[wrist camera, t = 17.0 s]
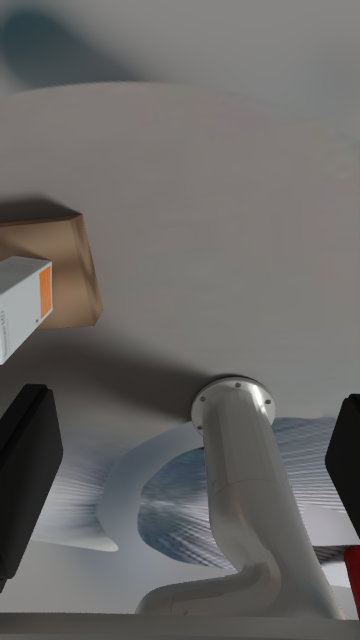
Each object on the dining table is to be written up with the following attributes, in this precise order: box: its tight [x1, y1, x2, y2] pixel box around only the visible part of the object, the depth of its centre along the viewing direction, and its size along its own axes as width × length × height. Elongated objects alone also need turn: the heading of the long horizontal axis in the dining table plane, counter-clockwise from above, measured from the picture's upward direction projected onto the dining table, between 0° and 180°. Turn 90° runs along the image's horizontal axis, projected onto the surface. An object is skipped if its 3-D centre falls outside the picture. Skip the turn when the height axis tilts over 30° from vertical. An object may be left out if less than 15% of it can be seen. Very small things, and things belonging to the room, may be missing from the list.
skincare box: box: [0, 256, 53, 365], centre depth 30 cm, size 6×4×12 cm
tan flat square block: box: [0, 214, 103, 330], centre depth 38 cm, size 12×12×5 cm
